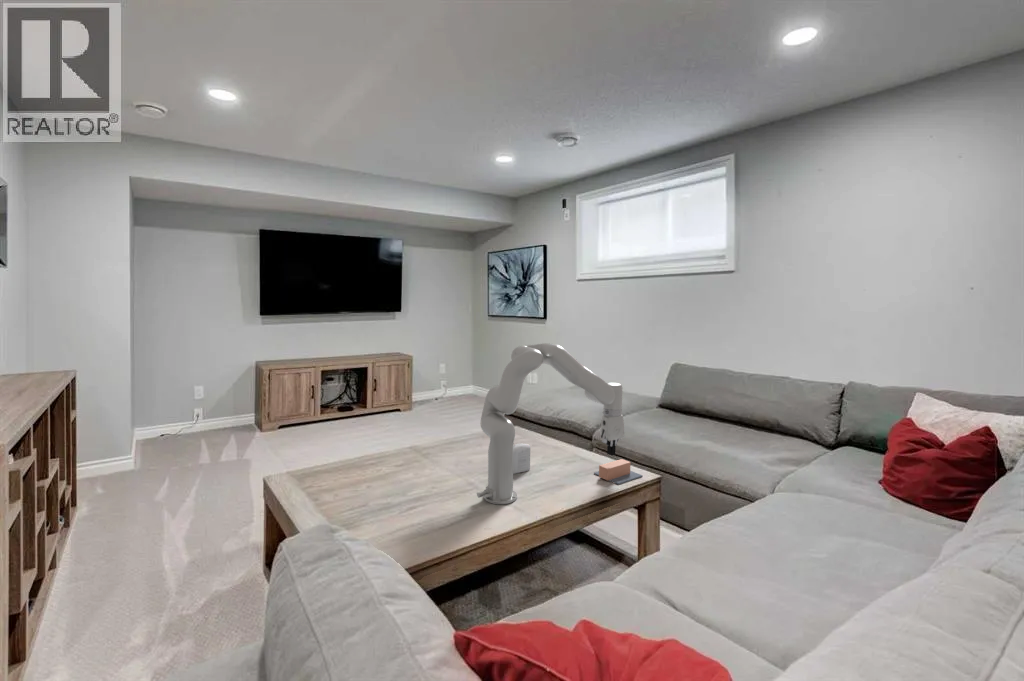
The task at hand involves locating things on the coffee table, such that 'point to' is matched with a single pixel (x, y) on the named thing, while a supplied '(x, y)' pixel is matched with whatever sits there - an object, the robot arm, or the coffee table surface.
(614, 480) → the mat
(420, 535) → the coffee table surface
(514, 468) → the photo printer
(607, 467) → the terracotta block
